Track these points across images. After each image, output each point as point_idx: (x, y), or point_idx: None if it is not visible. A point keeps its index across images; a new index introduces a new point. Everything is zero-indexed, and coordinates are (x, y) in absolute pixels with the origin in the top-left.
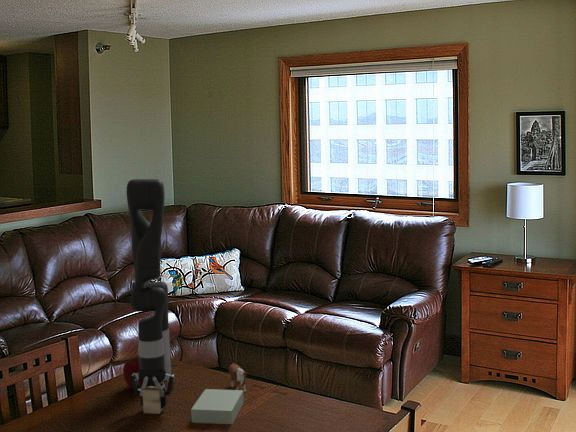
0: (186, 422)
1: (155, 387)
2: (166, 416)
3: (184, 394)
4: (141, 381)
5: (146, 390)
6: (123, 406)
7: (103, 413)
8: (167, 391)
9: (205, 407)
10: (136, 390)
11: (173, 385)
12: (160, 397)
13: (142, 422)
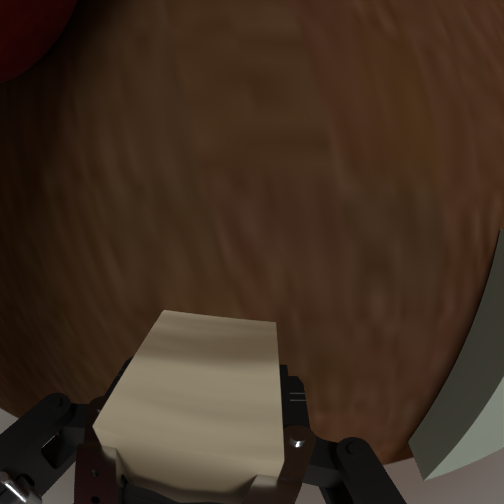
0: (390, 444)
1: (207, 486)
2: None
3: (376, 78)
4: (8, 60)
5: None
6: (38, 294)
7: (22, 357)
8: (330, 493)
9: (474, 454)
10: (74, 453)
11: (392, 485)
12: None
13: None
